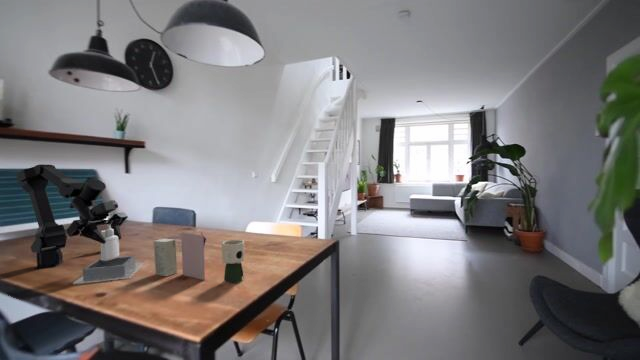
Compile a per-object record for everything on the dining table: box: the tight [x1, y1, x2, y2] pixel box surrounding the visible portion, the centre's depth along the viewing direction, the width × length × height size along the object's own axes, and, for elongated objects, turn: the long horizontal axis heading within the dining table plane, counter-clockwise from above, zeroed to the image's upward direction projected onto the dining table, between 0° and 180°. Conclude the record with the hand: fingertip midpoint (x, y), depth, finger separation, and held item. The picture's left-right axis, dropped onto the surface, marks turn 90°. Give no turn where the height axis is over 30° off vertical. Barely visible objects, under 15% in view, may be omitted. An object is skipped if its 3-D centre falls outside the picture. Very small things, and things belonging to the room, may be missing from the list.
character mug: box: [221, 239, 246, 283], centre depth 95 cm, size 11×7×13 cm, turn 171°
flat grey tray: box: [72, 255, 144, 286], centre depth 103 cm, size 16×16×4 cm
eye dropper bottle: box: [99, 226, 120, 261], centre depth 103 cm, size 4×6×12 cm
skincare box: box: [153, 238, 178, 277], centre depth 102 cm, size 6×4×12 cm
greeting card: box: [181, 229, 207, 281], centre depth 99 cm, size 11×7×15 cm, turn 26°
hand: (112, 240), depth 102 cm, fingers closed on eye dropper bottle, 5 cm apart
